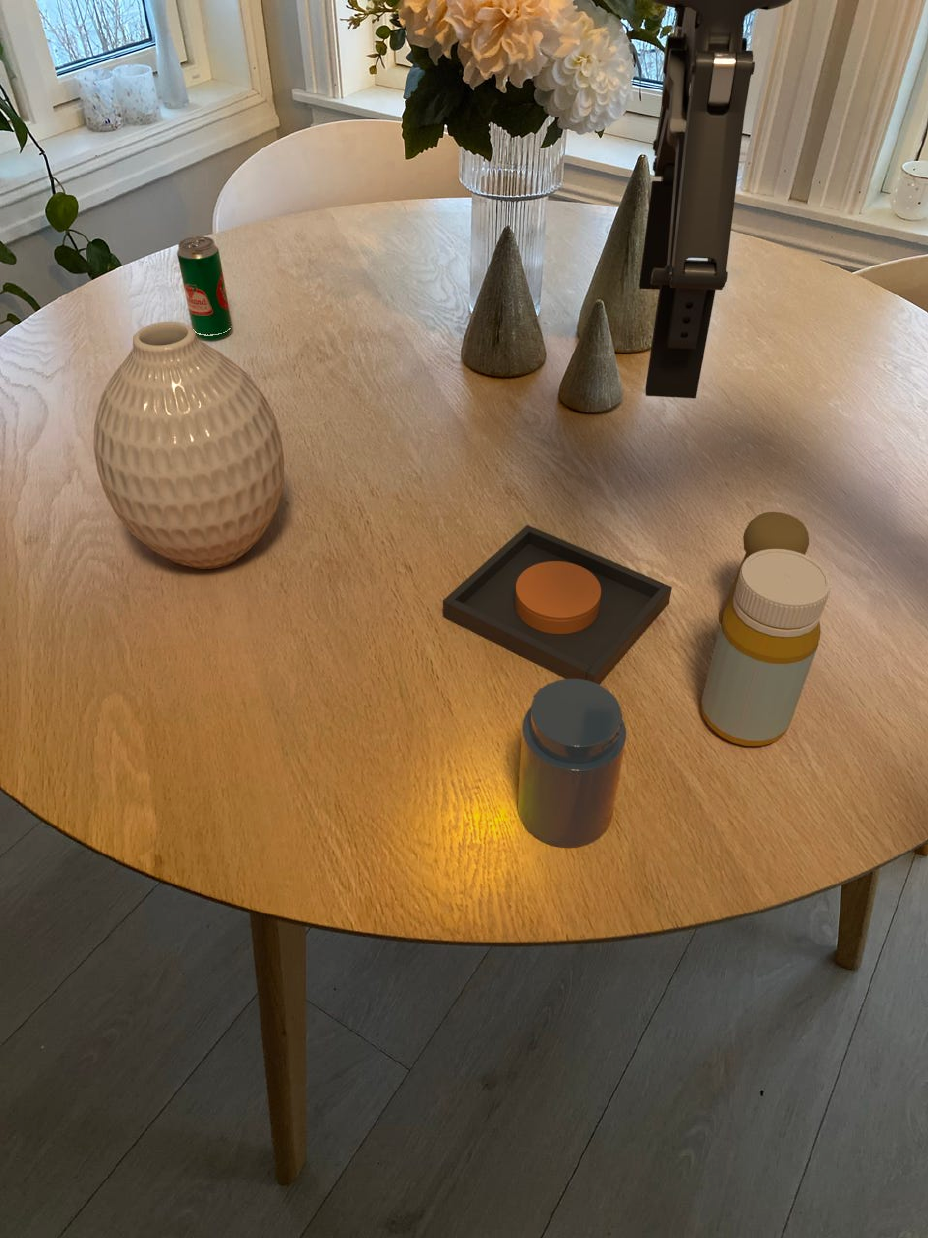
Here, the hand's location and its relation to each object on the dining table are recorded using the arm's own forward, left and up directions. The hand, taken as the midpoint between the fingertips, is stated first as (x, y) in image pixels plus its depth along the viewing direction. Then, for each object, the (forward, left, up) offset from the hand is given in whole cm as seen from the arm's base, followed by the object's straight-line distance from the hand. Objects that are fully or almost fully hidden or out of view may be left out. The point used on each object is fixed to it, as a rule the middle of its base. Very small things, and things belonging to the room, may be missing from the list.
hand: (664, 336), depth 58 cm
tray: (+9, -6, -32) cm, 33 cm away
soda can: (+74, -25, -32) cm, 84 cm away
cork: (-6, -15, -32) cm, 36 cm away
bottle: (-10, -4, -32) cm, 34 cm away
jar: (-3, +12, -32) cm, 34 cm away
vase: (+41, +6, -32) cm, 52 cm away
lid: (+9, -6, -29) cm, 31 cm away
